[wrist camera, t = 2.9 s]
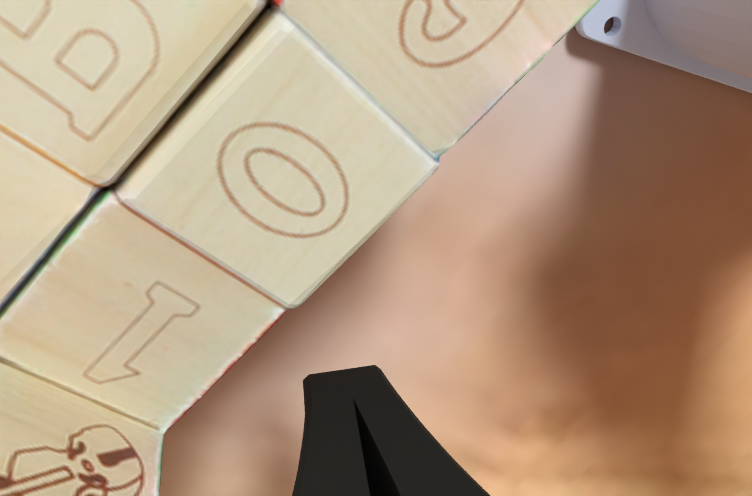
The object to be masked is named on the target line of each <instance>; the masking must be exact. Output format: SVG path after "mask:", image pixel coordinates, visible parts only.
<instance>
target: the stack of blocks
mask: <svg viewBox="0 0 752 496" xmlns="http://www.w3.org/2000/svg"><path fill="white" fill-rule="evenodd" d="M599 1H600V0H0V496H159V493H160V480H161V466H162V451H163V435H164V434H165V433H166V432H167V431H168V430H169V429H170V428H171V427H172V426H173V425H174V424H175V423H176V422H177V421H178V420H179V419H180V418H181V417H182V416H183V415H184V414H185V413H186V412H187V411H188V410H189V409H190V408H191V407H192V406H193V405H194V404H195V403H196V402H197V401H198V400H199V399H200V398H201V397H202V396H203V395H204V394H205V393H206V392H207V391H208V390H209V389H210V388H211V387H212V386H213V385H214V384H215V383H216V382H217V381H218V380H219V379H220V378H221V377H222V376H223V375H224V374H225V373H226V372H227V371H228V370H229V369H230V368H231V367H232V366H233V365H234V364H235V363H236V362H237V361H238V360H239V359H240V358H241V357H242V356H243V355H244V354H245V353H246V352H247V351H248V350H249V349H250V348H251V347H252V346H253V345H254V344H255V343H256V342H257V341H258V340H259V339H260V338H261V337H262V336H263V335H264V334H265V333H266V332H267V331H268V330H269V329H270V328H271V327H272V326H273V325H274V324H275V323H276V322H277V321H278V320H279V319H280V318H281V317H282V316H283V314H284V313H285V312H286V311H287V310H288V309H293V308H297V307H298V306H300V305H301V304H302V303H303V302H304V301H305V300H306V299H307V298H308V297H309V296H310V295H311V294H312V293H314V292H315V291H316V290H317V289H318V288H319V287H320V286H321V285H322V284H323V283H324V282H325V281H326V280H327V279H328V278H329V277H330V276H331V275H332V274H333V273H334V272H335V271H336V270H337V269H338V268H339V267H340V266H341V265H342V264H343V263H344V262H345V261H346V260H347V259H348V258H349V257H350V256H351V255H352V254H353V253H354V252H355V251H356V250H357V249H358V248H359V247H360V246H361V245H362V244H363V243H364V242H365V241H366V240H367V239H368V238H369V237H370V236H371V235H372V234H373V233H374V232H375V231H376V230H377V229H378V228H379V227H380V226H381V225H382V224H383V223H384V222H385V221H386V220H387V219H388V218H389V217H390V216H391V215H392V214H393V213H394V212H395V211H396V210H397V209H398V208H399V207H400V206H401V205H402V204H403V203H404V202H405V201H406V200H407V199H408V198H409V197H410V196H411V195H412V194H413V193H414V192H415V191H416V190H417V189H418V188H419V187H420V186H421V185H422V184H423V183H424V182H425V181H426V180H427V179H428V178H429V177H430V176H431V175H432V174H433V173H434V172H435V171H436V170H437V168H438V166H439V156H441V155H442V154H443V153H445V152H446V151H447V150H448V149H450V148H451V147H452V146H453V145H454V144H455V143H456V142H458V141H459V140H460V139H461V138H462V137H463V136H464V135H465V134H466V133H467V132H468V131H469V130H470V129H471V128H472V127H473V126H474V125H475V124H476V123H477V122H478V121H479V120H480V119H481V118H482V117H483V116H485V115H486V114H487V113H488V112H489V111H490V110H491V109H492V108H493V107H494V106H495V104H496V103H497V102H498V101H499V100H500V99H501V98H502V97H503V96H504V95H505V94H506V93H507V92H508V91H509V90H510V89H511V88H512V87H513V86H514V85H515V84H516V83H517V82H518V81H519V80H520V79H522V78H523V77H524V76H525V75H526V74H527V73H528V72H529V71H530V70H531V69H532V68H533V67H535V66H536V65H537V64H538V63H539V62H540V61H541V59H542V58H543V57H544V56H545V55H546V54H547V52H548V51H549V50H550V49H551V48H552V47H553V46H554V45H555V44H556V43H557V42H559V41H560V40H561V39H562V38H563V37H564V36H565V35H566V34H567V33H568V32H569V31H570V30H571V29H572V28H573V27H574V26H575V25H576V24H577V23H578V22H579V21H580V20H581V19H582V18H583V17H584V16H585V15H586V14H587V13H588V12H589V11H590V10H591V9H592V8H593V7H594V6H595V5H596V4H597V3H598V2H599Z"/></svg>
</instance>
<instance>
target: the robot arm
mask: <svg viewBox="0 0 752 496" xmlns="http://www.w3.org/2000/svg"><path fill="white" fill-rule="evenodd" d="M611 17H613V20H614V22H613V27H612V28H611V29H610V31H608V32H607V33H605V32H604V25H605V23H606V21H607V20H608V19H609V18H611ZM575 27H576V30H577V32H578V34H580V35H581V36H583V37H585V38H587V39H590V40H593V41H596V42H599V43H602V44H605V45H608V46H611V47H614V48H617V49H620V50H623V51H626V52H629V53H632V54H635V55H638V56H641V57H644V58H647V59H650V60H653V61H656V62H659V63H662V64H665V65H668V66H671V67H674V68H677V69H680V70H683V71H686V72H689V73H692V74H695V75H698V76H701V77H704V78H707V79H710V80H713V81H716V82H719V83H722V84H725V85H728V86H731V87H734V88H737V89H740V90H743V91H746V92H749V93H752V0H600V1H599V2H598V3H597V4H596V5H595V6H594V7H593V8H592V9H591V10H590V11H589V12H588V13H587V14H586V15H585V16H584V17H583V18H582V19H581V20H580V21H579V22H578V23H577V24H576V25H575ZM303 389H304V404H305V422H304V433H303V440H302V447H301V453H300V460H299V466H298V472H297V477H296V481H295V486H294V490H293V494H292V496H490V495H489V494H488V493H487V492H486V491H485V490H484V489H483V488H482V487H481V486H480V485H479V484H478V483H477V482H476V481H475V480H474V479H473V478H472V477H471V476H470V475H469V474H468V473H467V472H466V471H465V470H464V469H463V468H462V467H461V466H460V465H459V464H458V463H457V462H456V461H455V460H454V459H453V458H452V457H451V456H450V455H449V454H448V453H447V451H446V450H445V449H444V448H443V447H442V446H441V445H440V444H439V442H438V441H437V440H436V439H435V438H434V437H433V436H432V435H431V433H430V432H429V431H428V430H427V429H426V428H425V427H424V425H423V424H422V423H421V422H420V421H419V419H418V418H417V417H416V416H415V415H414V413H413V412H412V411H411V410H410V408H409V407H408V406H407V405H406V403H405V402H404V401H403V400H402V398H401V397H400V396H399V394H398V393H397V392H396V390H395V389H394V388H393V386H392V385H391V383H390V382H389V381H388V379H387V378H386V376H385V375H384V373H383V372H382V370H381V369H380V368H378V367H377V366H376V365H372V366H365V367H358V368H351V369H344V370H337V371H330V372H323V373H316V374H310V375H308V376H307V377H306V378H305V379H304V380H303Z"/></svg>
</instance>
